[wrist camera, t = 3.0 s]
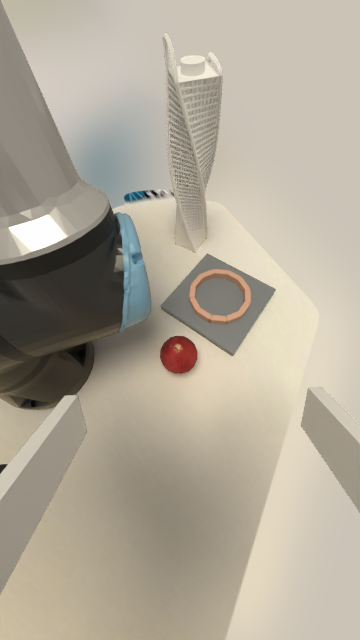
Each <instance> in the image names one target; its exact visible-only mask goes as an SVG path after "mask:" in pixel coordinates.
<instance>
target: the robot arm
mask: <svg viewBox="0 0 360 640" xmlns="http://www.w3.org/2000/svg"><path fill="white" fill-rule="evenodd" d="M150 311H151V296H150V289H149V283H148V278H147V273H146V268H145V264H144V262H143V260H142V253H141V248H140V243H139V239H138V236H137V232H136V229H135V226H134V224H133V221H132V219H131V217H130V216H129V215H127V214H121V213H119V212H118V213H115V214H113V211H112V208H111V206H110V203H109V200H108V198H107V196H106V195H105V194H104V193H103V192H102V191H100V190H98V189H96V188H95V187H93V186H92V185H90V184H88V183H87V182H85V181H83V180H81V178H80V177H79V175H78V174H77V172H76V169H75V167H74V165H73V163H72V160H71V158H70V156H69V154H68V151H67V149H66V147H65V145H64V142H63V140H62V138H61V136H60V133H59V131H58V129H57V127H56V125H55V122H54V120H53V118H52V115H51V113H50V111H49V109H48V107H47V104H46V102H45V100H44V97H43V96H42V93H41V91H40V88H39V86H38V84H37V82H36V80H35V77H34V75H33V73H32V71H31V68H30V66H29V64H28V61H27V59H26V57H25V55H24V53H23V50H22V48H21V46H20V43H19V41H18V39H17V37H16V34H15V32H14V30H13V28H12V25H11V23H10V21H9V19H8V16H7V14H6V12H5V10H4V7H3V5H2V3H1V1H0V398H1V399H3V400H4V401H6V402H8V403H9V404H11V405H13V406H15V407H18V408H22V409H31V410H42V409H48V408H52V407H55V406H56V407H55V408H54V409H53V411H52V412H51V413H50V414H49V415H48V417H47V418H46V419H45V420H44V421H43V423H42V424H41V425H40V426H39V428H38V429H37V430H36V431H35V432H34V434H33V435H32V436H31V437H30V438H29V440H28V441H27V442H26V443H25V444H24V446H23V447H22V448H21V449H20V451H19V452H18V453H17V454H16V455H15V457H14V458H13V459H12V460H11V461H10V463H9V464H1V465H0V594H1V592H2V590H3V589H4V587H5V585H6V583H7V581H8V579H9V577H10V575H11V574H12V572H13V570H14V568H15V566H16V564H17V562H18V560H19V559H20V557H21V555H22V553H23V551H24V549H25V547H26V545H27V544H28V542H29V540H30V538H31V536H32V534H33V532H34V530H35V529H36V527H37V525H38V523H39V521H40V519H41V517H42V515H43V514H44V512H45V510H46V508H47V506H48V504H49V502H50V500H51V499H52V497H53V495H54V493H55V491H56V489H57V487H58V485H59V484H60V482H61V480H62V478H63V476H64V474H65V472H66V471H67V469H68V467H69V465H70V463H71V461H72V459H73V457H74V456H75V454H76V452H77V450H78V448H79V446H80V444H81V442H82V441H83V439H84V437H85V435H86V433H87V428H86V424H85V421H84V417H83V413H82V409H81V406H80V402H79V398H78V395H75V394H76V393H77V392H78V391H79V390H80V388H81V387H82V386H83V384H84V383H85V382H86V380H87V378H88V376H89V374H90V372H91V369H92V366H93V360H94V350H93V345H92V342H91V341H92V340H95V339H98V338H101V337H104V336H108V335H111V334H114V333H117V332H122V331H123V330H124V329H125V328H128V327H130V326H133V325H135V324H137V323H140V322H142V321H144V320H145V319H146V318H147V317H148V316H149V314H150ZM301 427H302V428H303V430H304V431H305V433H306V434H307V435H308V437H309V438H310V440H311V441H312V443H313V444H314V446H315V447H316V449H317V450H318V452H319V453H320V454H321V456H322V458H323V459H324V461H325V462H326V463H327V465H328V466H329V468H330V469H331V471H332V472H333V474H334V475H335V477H336V478H337V480H338V481H339V483H340V484H341V486H342V487H343V489H344V490H345V491H346V493H347V494H348V496H349V497H350V499H351V500H352V502H353V503H354V504H355V506H356V507H357V509H358V511H359V512H360V424H359V423H358V422H357V421H356V420H355V419H354V418H353V417H352V416H351V415H350V414H349V413H348V412H347V411H346V410H345V409H344V408H343V407H342V406H341V405H340V404H339V403H338V402H337V401H336V400H335V399H334V398H333V397H331V395H330V394H328V393H327V392H326V391H325V390H324V389H323V388H322V387H317V388H308V391H307V396H306V401H305V407H304V412H303V417H302V423H301Z"/></svg>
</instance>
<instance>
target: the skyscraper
mask: <svg viewBox="0 0 360 640" xmlns="http://www.w3.org/2000/svg"><path fill="white" fill-rule="evenodd" d="M167 44H168V46H167ZM163 46H164V56H165V66H166V133H167V150H168V160H169V169H170V175H171V181H172V186H173V191H174V195H175V199H176V203H177V210H176V233H175V244H176V245H177V244H178V245H180V246H182V247H185V248H187V249H189V250H192V251H194V252H195V253H196V251H197V249H198V248H199V247H200V245H201V244H202V243H203V241H204V240H205V239H206V238H207V215H206V202H205V189H206V186H207V183H208V180H209V176H210V173H211V170H212V166H213V162H214V157H215V152H216V146H217V139H218V132H219V122H220V121H219V120H220V110H221V96H222V80H223V71H222V67H221V65H220V63H219V61H218V60H217V58H216V57H215V55H214V54H212V53H211V52H210V53H209V54H208V56H207V59H206V60H207V61H206V62H205V58H204V57H203V56H198V55H191V56H186V57H183V58H182V59H181V60H180V66H177V65H176V58H175V53H174V49H173V45H172V42H171V40H170V38H169V36H168V35H167V33H165V34H164V36H163ZM168 47H169V51H170V55H171V60H172V67H169V57H168ZM210 59H211V60H212V61H213V62H214V63H215V64H216V66H217V68H218V72H219V73H218V72H217V71H216V70H215V69H214V67H213V66H212V65H211V64H210Z"/></svg>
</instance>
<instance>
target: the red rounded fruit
mask: <svg viewBox="0 0 360 640" xmlns="http://www.w3.org/2000/svg"><path fill="white" fill-rule="evenodd" d="M160 358H161V361H162V363H163V365H164V367H165V368H166V369H167V370H168V371H171V372H173V373H181V374H182V373H185V372H188V371H189V370H190V369H191V368H192V367H193V366H194V365H195V362H196V360H197V350H196V347H195V345H194V343H193V342H192V341H191V340H189V339H188V338H185V337H183V336H175V337H171V338H170V339H168V340H167V341H166V342H164V344H163V346H162V348H161V352H160Z"/></svg>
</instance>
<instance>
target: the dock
mask: <svg viewBox="0 0 360 640" xmlns="http://www.w3.org/2000/svg"><path fill="white" fill-rule="evenodd" d="M275 290H276V289H274V288H272V287H270V286H268V285H267V284H265V283H263V282H261V281H259V280H257V279H255V278H253V277H251V276H249V275H247V274H245V273H244V272H242V271H240V270H238V269H236V268H234V267H232V266H230V265H228V264H226V263H224V262H222V261H221V260H219V259H217V258H215V257H213V256H211V255H209V254H206V255H205V257H204V258H203V259H202V260H201V261H200V262H199V263H198V265H197V266H196V267H195V268H194V269H193V270H192V271H191V272H190V274H189V275H188V276H187V277H186V278H185V279H184V280H183V281H182V283H181V284H180V285H179V286H178V287H177V288H176V289H175V290H174V292H173V293H172V294H171V295H170V296H169V297H168V298H167V300H166V301H165V302H164V303H163V304H162V305H161V309H162V310H164V311H165V312H167V313H168V314H170V315H171V316H173V317H174V318H176V319H177V320H179V321H180V322H182V323H183V324H185V325H186V326H188V327H189V328H191V329H192V330H194V331H195V332H197V333H198V334H200V335H201V336H203V337H204V338H206V339H207V340H209V341H210V342H212V343H213V344H215V345H216V346H218V347H219V348H221V349H222V350H224V351H225V352H227V353H228V354H230V355H231V356H233V355H234V353H235V352H236V350H237V349H238V347H239V345H240V344H241V342H242V341H243V339H244V338H245V336H246V335H247V333H248V332H249V330H250V329H251V327H252V326H253V324H254V322H255V321H256V319H257V318H258V316H259V315H260V313H261V312H262V310H263V309H264V307H265V306H266V304H267V303H268V301H269V300H270V298H271V296H272V295H273V293H274V292H275Z"/></svg>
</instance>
